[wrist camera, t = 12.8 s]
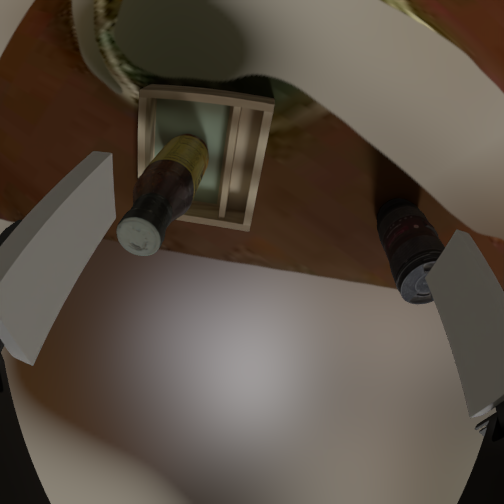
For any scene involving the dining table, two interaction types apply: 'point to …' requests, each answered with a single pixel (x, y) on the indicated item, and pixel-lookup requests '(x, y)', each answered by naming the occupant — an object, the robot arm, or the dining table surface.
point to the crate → (210, 145)
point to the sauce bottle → (163, 193)
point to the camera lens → (409, 248)
